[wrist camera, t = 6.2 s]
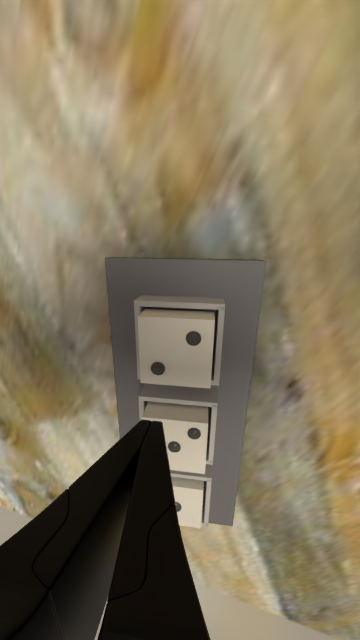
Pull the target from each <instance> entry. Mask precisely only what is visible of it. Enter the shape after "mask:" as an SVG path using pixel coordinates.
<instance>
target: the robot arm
mask: <svg viewBox="0 0 360 640" xmlns="http://www.w3.org/2000/svg"><path fill="white" fill-rule="evenodd" d="M107 598H108V601H107ZM106 601H107V602H108V603H107V605H106V609H105V614H104V617H103V622H102V626H101V629H100V633H99V636H98V640H210V637H209V634H208V630H207V627H206V624H205V620H204V617H203V613H202V610H201V606H200V603H199V599H198V596H197V592H196V588H195V585H194V581H193V578H192V574H191V571H190V567H189V564H188V560H187V556H186V552H185V549H184V545H183V541H182V537H181V531H180V526H179V521H178V516H177V509H176V505H175V497H174V491H173V485H172V479H171V472H170V466H169V460H168V454H167V447H166V441H165V435H164V429H163V423H162V422H161V421H151V420H140V421H139V422H138V423H137V424H136V425H135V426H134V427H133V428H132V429H131V430H130V431H129V432H127V433H126V434H125V435H124V436H123V437H122V438H121V439H120V440H119V441H118V442H117V443H116V444H115V445H114V446H112V447H111V448H110V449H109V450H108V451H107V452H106V453H105V454H104V455H103V456H102V457H101V458H100V459H99V460H97V461H96V462H95V463H94V464H93V465H92V466H91V467H90V468H89V469H88V470H87V471H86V472H85V473H84V474H82V475H81V476H80V477H79V478H78V479H77V480H76V481H75V482H74V483H73V484H72V485H71V486H70V487H69V489H66V490H65V491H64V492H63V493H62V494H61V495H60V496H59V497H58V498H57V499H55V500H54V501H53V502H52V503H51V504H50V505H49V506H48V507H47V508H45V509H44V510H43V511H42V512H41V513H40V514H39V515H37V516H36V517H35V518H34V519H33V520H32V521H30V522H29V523H28V524H27V525H25V526H24V527H23V528H22V529H21V530H19V531H18V532H17V533H16V534H14V535H13V536H12V537H11V538H9V539H8V540H7V541H6V542H5V543H3V544H2V545H1V546H0V640H94V639H95V636H96V632H97V629H98V626H99V623H100V620H101V616H102V614H103V611H104V607H105V604H106Z"/></svg>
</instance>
